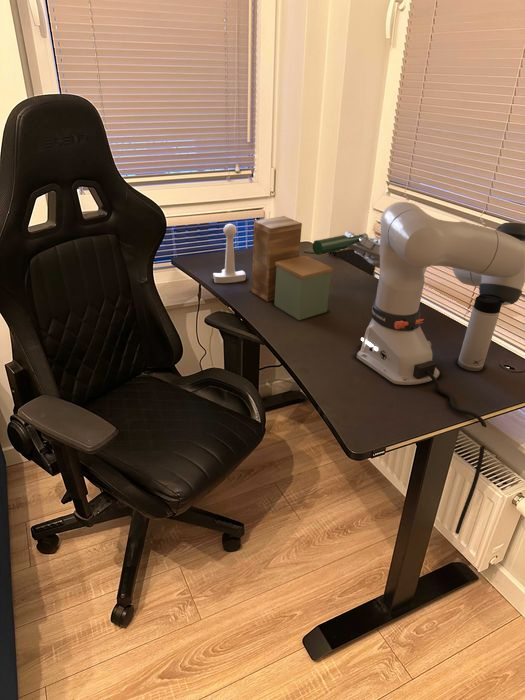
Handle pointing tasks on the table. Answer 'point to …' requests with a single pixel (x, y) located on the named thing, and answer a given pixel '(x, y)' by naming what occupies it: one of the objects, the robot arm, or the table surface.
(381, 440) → the table surface
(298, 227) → the shelf
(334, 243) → the bottle
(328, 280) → the block
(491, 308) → the travel mug
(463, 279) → the robot arm
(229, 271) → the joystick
